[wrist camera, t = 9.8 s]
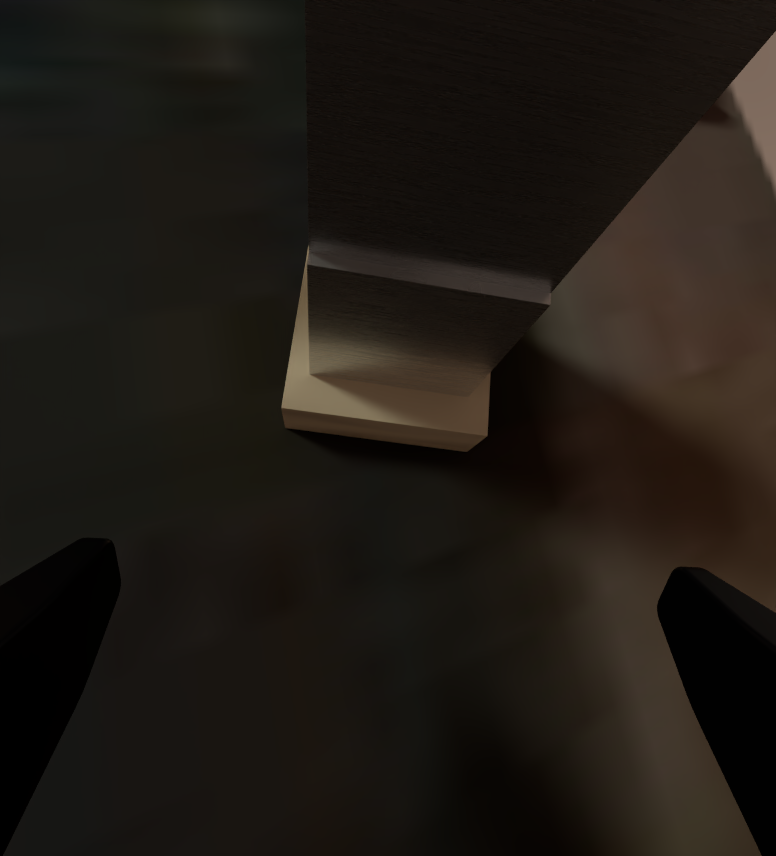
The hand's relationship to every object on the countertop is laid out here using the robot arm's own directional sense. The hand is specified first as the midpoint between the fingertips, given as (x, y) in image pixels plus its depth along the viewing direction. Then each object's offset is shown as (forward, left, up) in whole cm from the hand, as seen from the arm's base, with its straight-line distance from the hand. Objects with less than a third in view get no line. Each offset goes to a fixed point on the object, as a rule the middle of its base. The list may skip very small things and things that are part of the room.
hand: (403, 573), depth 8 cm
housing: (+8, -2, -8) cm, 12 cm away
